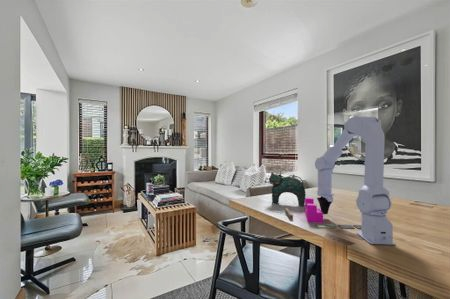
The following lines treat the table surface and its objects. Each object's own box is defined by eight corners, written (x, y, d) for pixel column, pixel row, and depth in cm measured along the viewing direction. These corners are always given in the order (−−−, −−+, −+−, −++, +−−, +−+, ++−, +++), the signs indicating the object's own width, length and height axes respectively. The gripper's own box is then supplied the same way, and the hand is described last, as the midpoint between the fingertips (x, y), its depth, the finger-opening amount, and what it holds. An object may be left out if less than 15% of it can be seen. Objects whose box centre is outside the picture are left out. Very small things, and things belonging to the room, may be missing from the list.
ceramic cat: (268, 203, 127) (268, 169, 127) (271, 201, 133) (271, 168, 133) (305, 207, 119) (305, 170, 119) (305, 204, 125) (305, 169, 125)
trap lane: (370, 229, 86) (370, 224, 86) (294, 226, 89) (294, 222, 89) (346, 213, 107) (346, 209, 107) (285, 212, 110) (285, 208, 110)
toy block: (323, 223, 94) (323, 206, 94) (307, 222, 95) (307, 205, 95) (318, 213, 108) (318, 198, 108) (305, 212, 110) (305, 197, 110)
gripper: (340, 186, 93) (340, 219, 93) (327, 181, 107) (327, 209, 107) (323, 186, 93) (323, 218, 93) (312, 181, 108) (312, 209, 108)
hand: (324, 213), depth 100 cm, fingers closed
